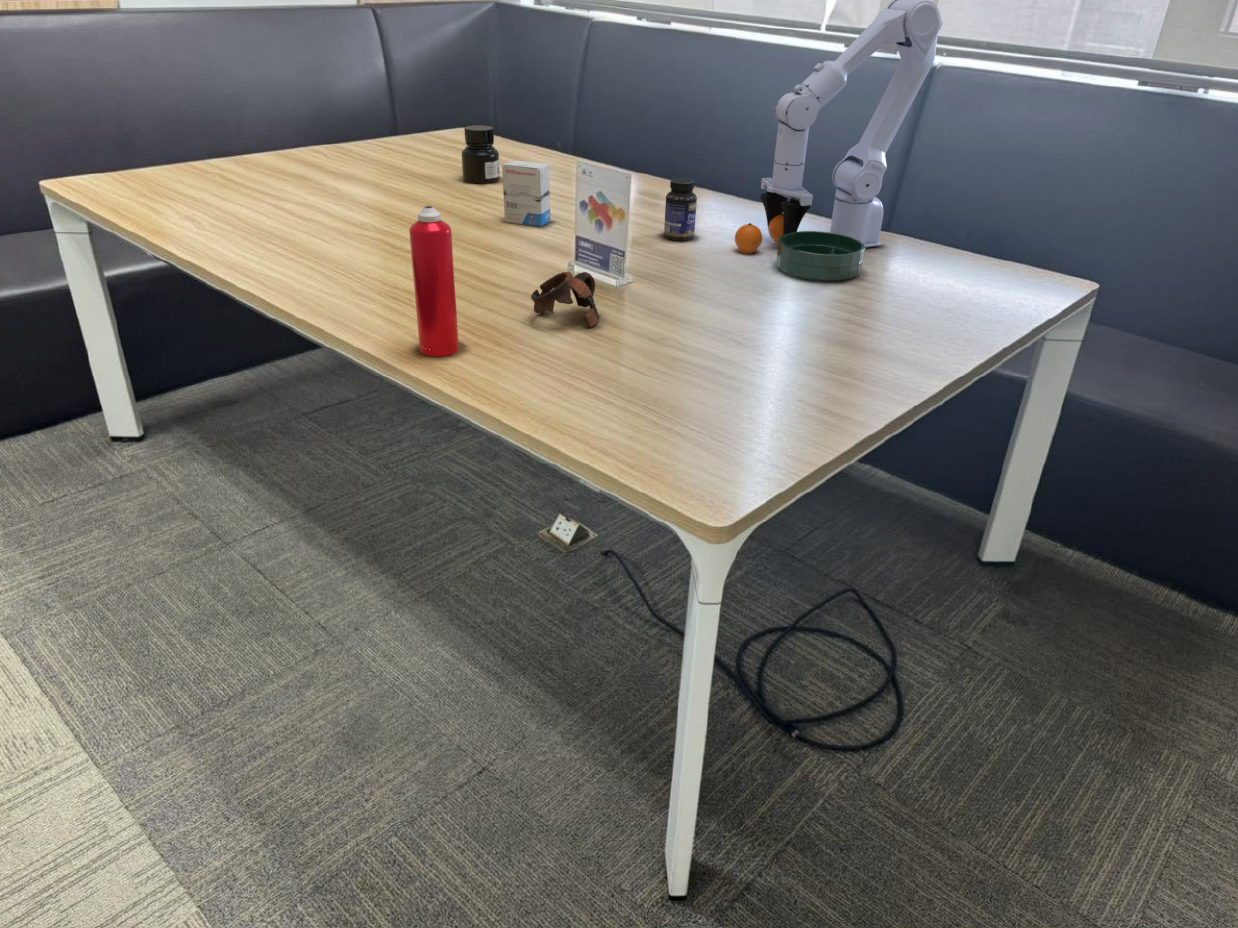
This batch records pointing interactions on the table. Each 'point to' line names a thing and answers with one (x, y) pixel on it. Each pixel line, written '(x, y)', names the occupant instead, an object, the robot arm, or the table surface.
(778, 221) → the clementine
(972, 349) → the table surface
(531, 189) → the ink box
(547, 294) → the brown curved broken pieces
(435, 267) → the bottle
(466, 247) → the table surface
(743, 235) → the clementine
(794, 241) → the bowl
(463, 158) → the ink bottle
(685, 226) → the pill bottle
